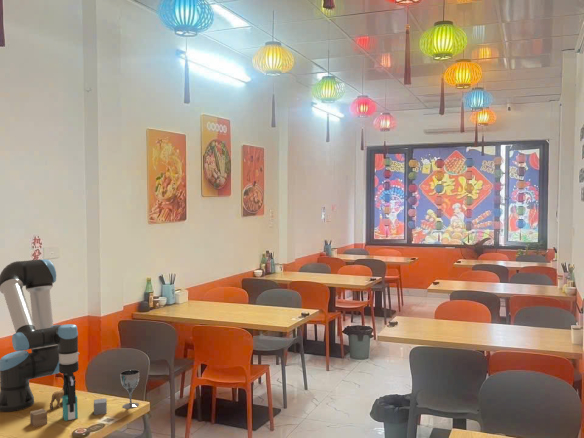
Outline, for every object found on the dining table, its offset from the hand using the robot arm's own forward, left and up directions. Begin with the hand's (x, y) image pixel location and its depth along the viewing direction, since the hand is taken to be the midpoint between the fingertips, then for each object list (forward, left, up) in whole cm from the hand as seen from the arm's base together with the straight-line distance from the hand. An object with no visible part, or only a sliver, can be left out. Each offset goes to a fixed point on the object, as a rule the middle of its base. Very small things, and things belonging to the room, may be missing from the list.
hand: (70, 416), depth 227 cm
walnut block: (-1, -12, -1) cm, 12 cm away
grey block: (+1, +12, -1) cm, 12 cm away
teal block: (0, 0, 0) cm, 0 cm away
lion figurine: (-19, 0, -1) cm, 19 cm away
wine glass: (+1, +25, -1) cm, 25 cm away
